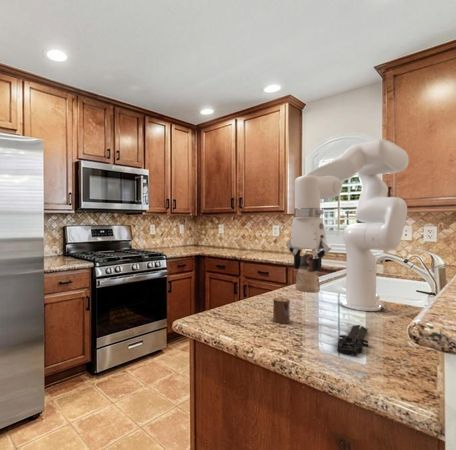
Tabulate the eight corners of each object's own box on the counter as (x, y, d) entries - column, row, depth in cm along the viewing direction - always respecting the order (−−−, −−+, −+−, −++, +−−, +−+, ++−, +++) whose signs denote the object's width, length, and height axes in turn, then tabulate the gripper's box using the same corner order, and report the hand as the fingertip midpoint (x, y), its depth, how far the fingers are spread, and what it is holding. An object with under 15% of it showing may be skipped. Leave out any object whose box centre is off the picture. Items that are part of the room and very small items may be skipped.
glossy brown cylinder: (280, 317, 104) (280, 296, 104) (293, 322, 100) (293, 300, 100) (269, 320, 102) (270, 298, 101) (282, 324, 97) (283, 302, 97)
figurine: (314, 287, 105) (315, 252, 105) (323, 293, 98) (324, 255, 98) (292, 287, 106) (293, 252, 106) (299, 292, 99) (300, 255, 99)
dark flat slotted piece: (354, 326, 96) (354, 322, 96) (379, 331, 92) (379, 327, 92) (328, 349, 78) (329, 344, 78) (359, 358, 74) (359, 352, 74)
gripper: (340, 213, 96) (340, 272, 96) (291, 214, 111) (291, 264, 111) (325, 213, 92) (325, 274, 93) (277, 214, 107) (277, 266, 108)
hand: (307, 268), depth 102 cm, fingers closed on figurine, 6 cm apart
